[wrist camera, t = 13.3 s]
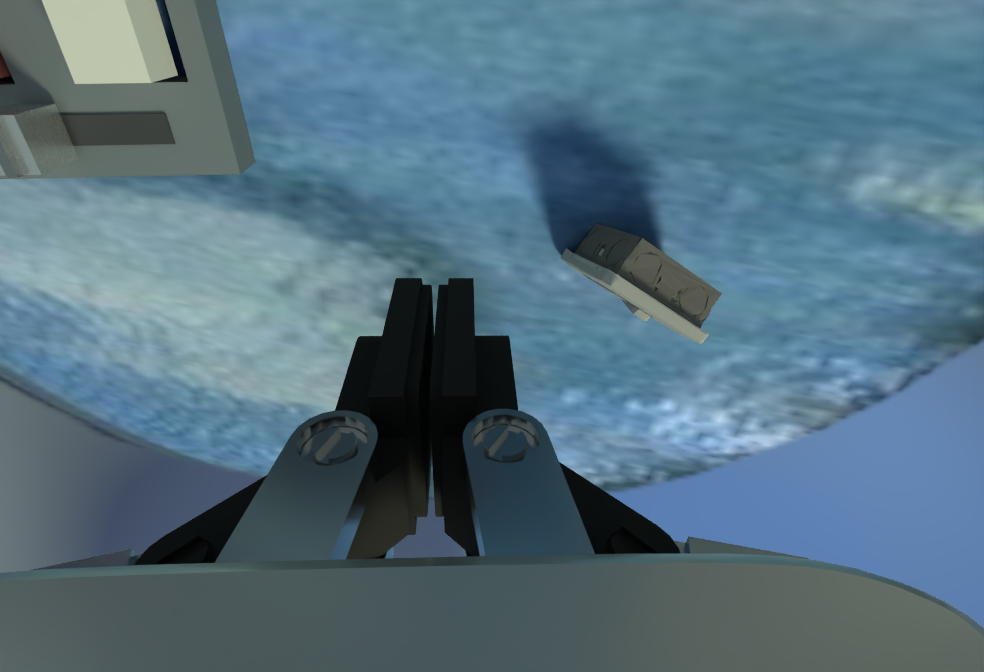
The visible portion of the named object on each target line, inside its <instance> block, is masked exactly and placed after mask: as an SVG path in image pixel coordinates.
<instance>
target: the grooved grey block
mask: <svg viewBox="0 0 984 672" xmlns="http://www.w3.org/2000/svg"><path fill="white" fill-rule="evenodd" d="M77 159H79V158H78V156H77V154H76V151H75V149H74V147H73V144H72V142H71V140H70V137H69V135H68V132H67V130H66V128H65V125H64V123H63V121H62V118H61V116H60V114H59V111H58V109H57V107H56V104H11V105H7V106H3V107H0V176H5V175H6V177H7V178H19V177H21V176H23V175H42V174H44V173H47V172H49V171H51V170H54V169H56V168H58V167H61V166H63V165H65V164H68V163H70V162H72V161H75V160H77Z"/></svg>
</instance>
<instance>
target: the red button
mask: <svg viewBox="0 0 984 672" xmlns="http://www.w3.org/2000/svg"><path fill="white" fill-rule="evenodd" d="M8 76H11V73H10V71H9V69H8V67H7V65H6V62H5V60H4V58H3V56H2V53H1V51H0V78H3V77H8Z"/></svg>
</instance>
